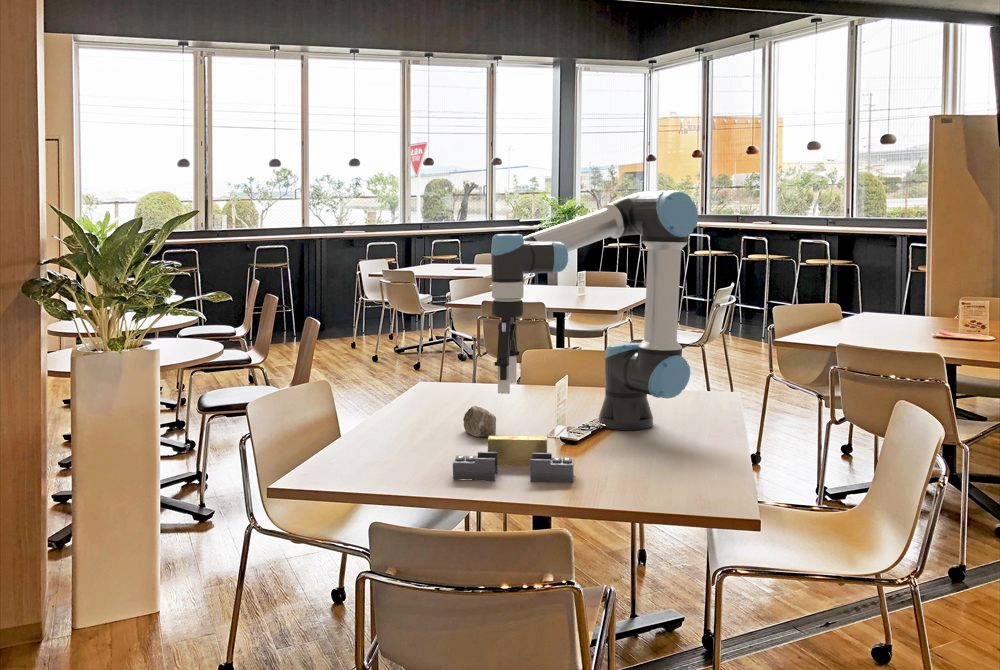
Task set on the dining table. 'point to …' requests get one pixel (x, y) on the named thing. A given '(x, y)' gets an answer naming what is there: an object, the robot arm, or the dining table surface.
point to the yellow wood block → (516, 448)
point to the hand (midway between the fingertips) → (507, 387)
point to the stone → (480, 422)
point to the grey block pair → (540, 467)
